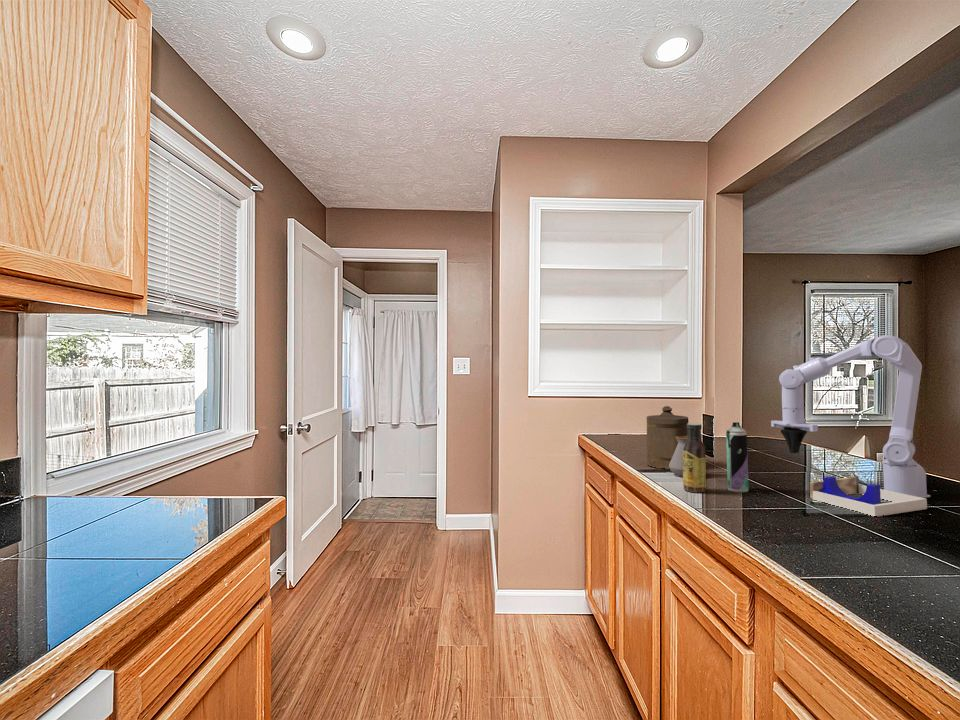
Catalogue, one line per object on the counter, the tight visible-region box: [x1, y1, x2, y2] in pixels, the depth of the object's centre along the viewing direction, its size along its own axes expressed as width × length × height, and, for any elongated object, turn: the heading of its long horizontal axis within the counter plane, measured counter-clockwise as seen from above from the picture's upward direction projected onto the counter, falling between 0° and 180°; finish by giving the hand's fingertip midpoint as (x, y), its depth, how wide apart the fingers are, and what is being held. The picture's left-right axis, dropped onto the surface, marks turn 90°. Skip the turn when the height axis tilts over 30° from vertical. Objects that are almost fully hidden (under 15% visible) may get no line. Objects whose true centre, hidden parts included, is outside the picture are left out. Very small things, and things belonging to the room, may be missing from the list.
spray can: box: [725, 421, 750, 493], centre depth 149 cm, size 6×6×20 cm
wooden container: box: [646, 405, 690, 470], centre depth 187 cm, size 15×15×22 cm
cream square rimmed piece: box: [812, 475, 928, 517], centre depth 132 cm, size 18×18×5 cm
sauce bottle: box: [682, 422, 707, 493], centre depth 149 cm, size 7×6×20 cm
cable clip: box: [820, 475, 882, 505], centre depth 132 cm, size 12×4×6 cm, turn 26°
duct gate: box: [809, 476, 857, 500], centre depth 140 cm, size 16×1×4 cm, turn 108°
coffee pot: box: [669, 436, 687, 478], centre depth 166 cm, size 21×12×15 cm, turn 168°
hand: (794, 452), depth 156 cm, fingers closed
